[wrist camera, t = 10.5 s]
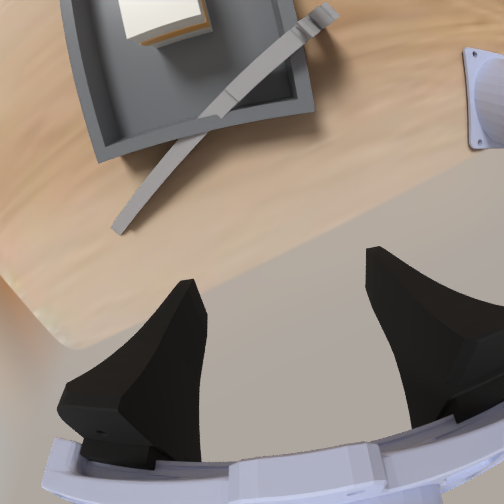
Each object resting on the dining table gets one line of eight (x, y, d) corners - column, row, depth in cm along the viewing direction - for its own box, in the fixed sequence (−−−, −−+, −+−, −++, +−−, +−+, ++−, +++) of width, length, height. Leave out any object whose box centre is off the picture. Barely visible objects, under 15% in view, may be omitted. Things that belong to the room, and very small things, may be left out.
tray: (252, -99, 9) (253, -120, 6) (305, 107, 17) (315, 111, 15) (75, -44, 10) (55, -54, 7) (117, 151, 18) (98, 163, 16)
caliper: (311, 15, 14) (338, -11, 9) (323, 26, 15) (356, 5, 9) (112, 225, 22) (76, 272, 16) (122, 233, 22) (90, 282, 17)
